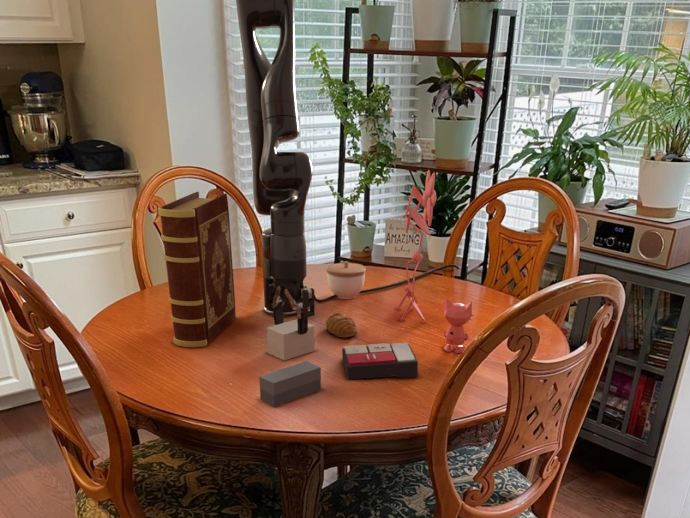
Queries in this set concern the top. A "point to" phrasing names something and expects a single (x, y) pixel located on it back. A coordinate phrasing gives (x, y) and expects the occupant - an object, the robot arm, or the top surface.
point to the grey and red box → (379, 361)
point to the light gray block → (290, 347)
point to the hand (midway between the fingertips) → (290, 329)
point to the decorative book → (198, 267)
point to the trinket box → (346, 279)
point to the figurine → (428, 203)
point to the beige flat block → (288, 331)
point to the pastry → (341, 325)
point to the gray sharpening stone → (290, 383)
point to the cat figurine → (456, 324)
